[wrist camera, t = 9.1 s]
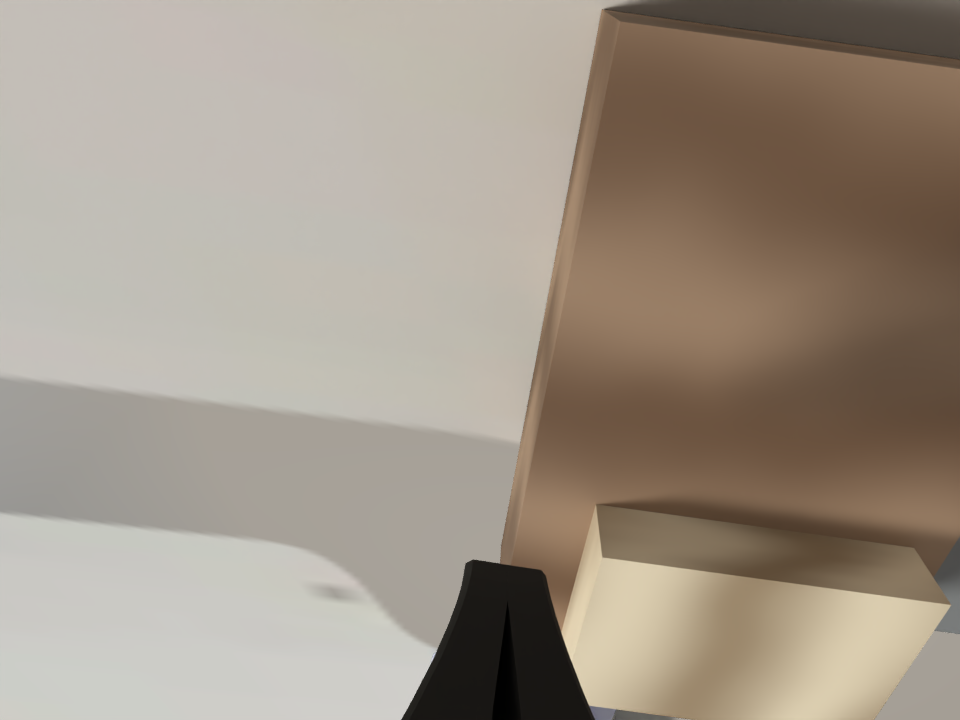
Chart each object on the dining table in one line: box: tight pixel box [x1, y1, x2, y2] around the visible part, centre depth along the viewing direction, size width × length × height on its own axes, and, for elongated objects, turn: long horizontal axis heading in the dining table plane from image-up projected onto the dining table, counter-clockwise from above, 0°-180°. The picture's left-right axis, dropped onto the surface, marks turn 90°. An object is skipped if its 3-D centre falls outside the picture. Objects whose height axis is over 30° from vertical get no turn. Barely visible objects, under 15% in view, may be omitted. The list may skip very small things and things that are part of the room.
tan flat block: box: [500, 9, 960, 631], centre depth 20 cm, size 18×12×4 cm, turn 173°
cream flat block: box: [561, 504, 951, 720], centre depth 20 cm, size 9×6×2 cm, turn 83°
